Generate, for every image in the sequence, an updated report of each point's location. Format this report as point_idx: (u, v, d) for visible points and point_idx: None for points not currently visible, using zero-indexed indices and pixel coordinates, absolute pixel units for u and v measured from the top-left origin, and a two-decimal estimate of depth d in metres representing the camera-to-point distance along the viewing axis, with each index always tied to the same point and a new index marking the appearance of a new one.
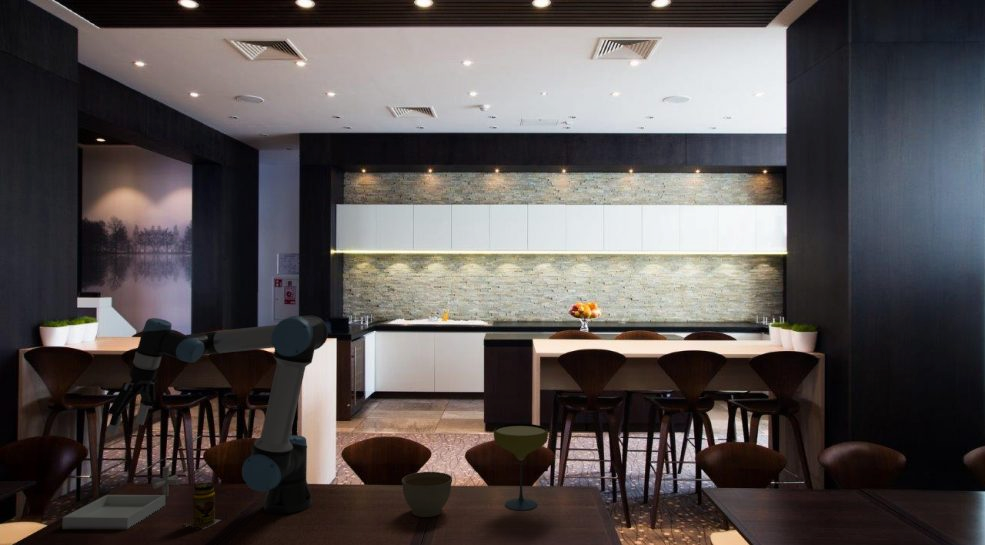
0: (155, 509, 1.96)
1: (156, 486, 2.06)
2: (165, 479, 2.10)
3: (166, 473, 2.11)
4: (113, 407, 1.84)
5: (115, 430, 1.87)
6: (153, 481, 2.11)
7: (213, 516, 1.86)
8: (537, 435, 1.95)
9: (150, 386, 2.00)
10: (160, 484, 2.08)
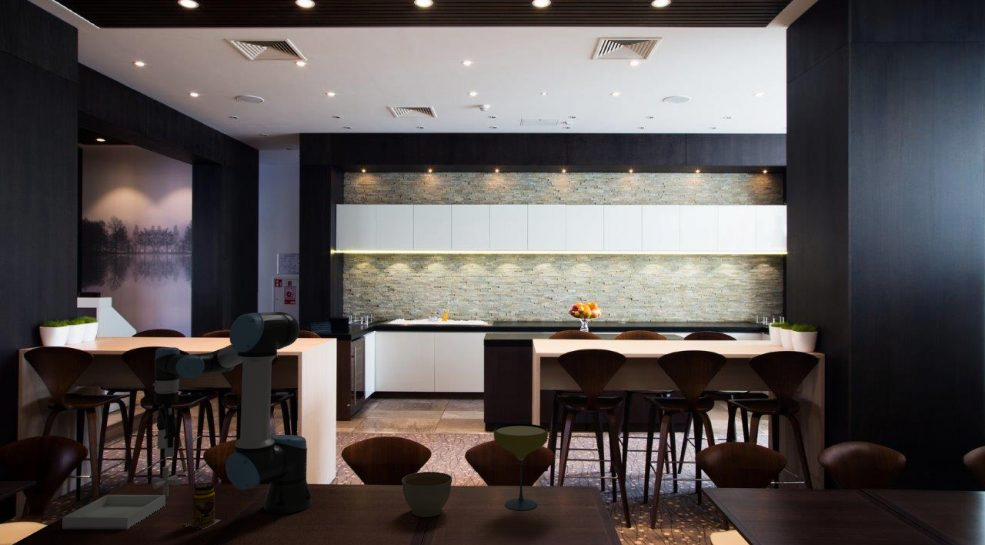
0: (155, 509, 1.96)
1: (156, 486, 2.06)
2: (165, 479, 2.10)
3: (166, 473, 2.11)
4: (170, 431, 2.04)
5: (173, 451, 2.07)
6: (153, 481, 2.11)
7: (213, 516, 1.86)
8: (537, 435, 1.95)
9: None
10: (160, 484, 2.08)
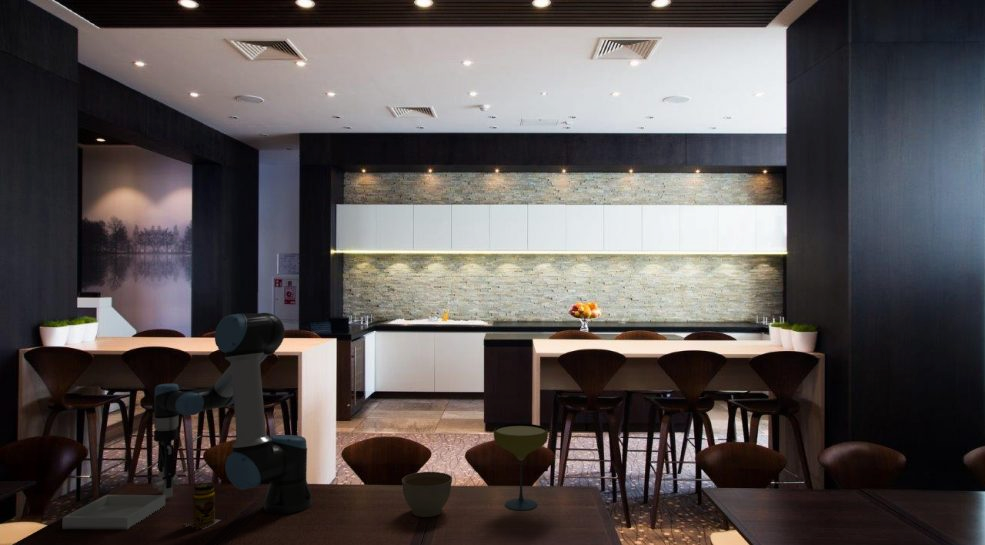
0: (155, 509, 1.96)
1: (156, 486, 2.06)
2: None
3: None
4: (169, 472, 2.05)
5: (172, 491, 2.08)
6: (153, 481, 2.11)
7: (213, 516, 1.86)
8: (537, 435, 1.95)
9: None
10: (160, 484, 2.08)
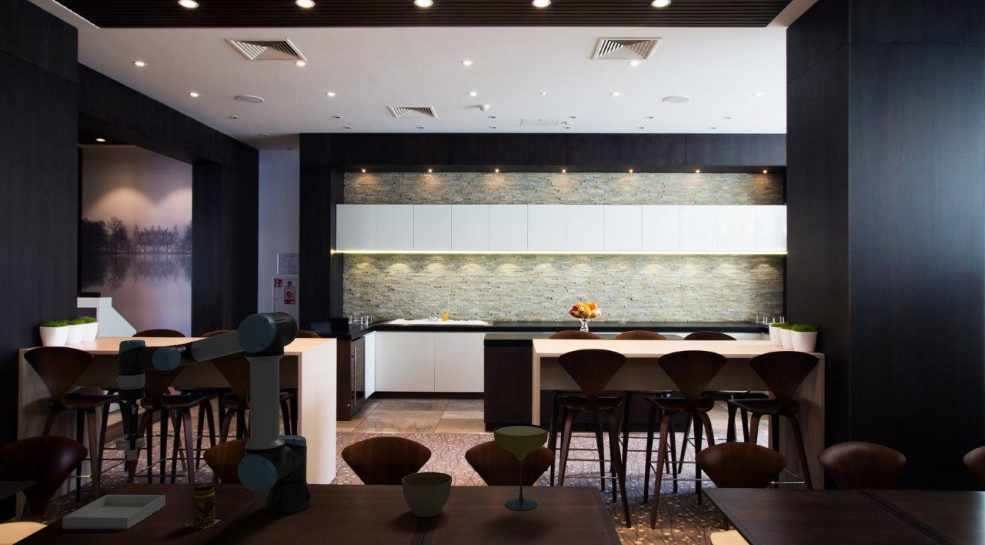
0: (155, 509, 1.96)
1: (119, 448, 1.93)
2: None
3: None
4: (132, 432, 1.91)
5: (136, 454, 1.94)
6: (117, 443, 1.98)
7: (213, 516, 1.86)
8: (537, 435, 1.95)
9: None
10: (124, 446, 1.94)
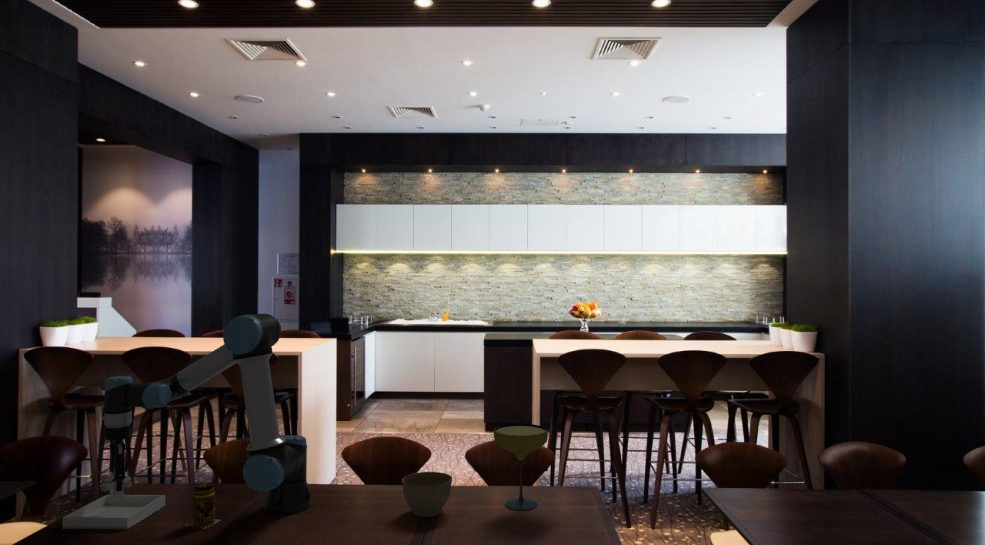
0: (155, 509, 1.96)
1: (105, 489, 1.87)
2: None
3: None
4: (119, 473, 1.86)
5: (122, 495, 1.89)
6: (103, 483, 1.92)
7: (213, 516, 1.86)
8: (537, 435, 1.95)
9: None
10: (110, 486, 1.89)
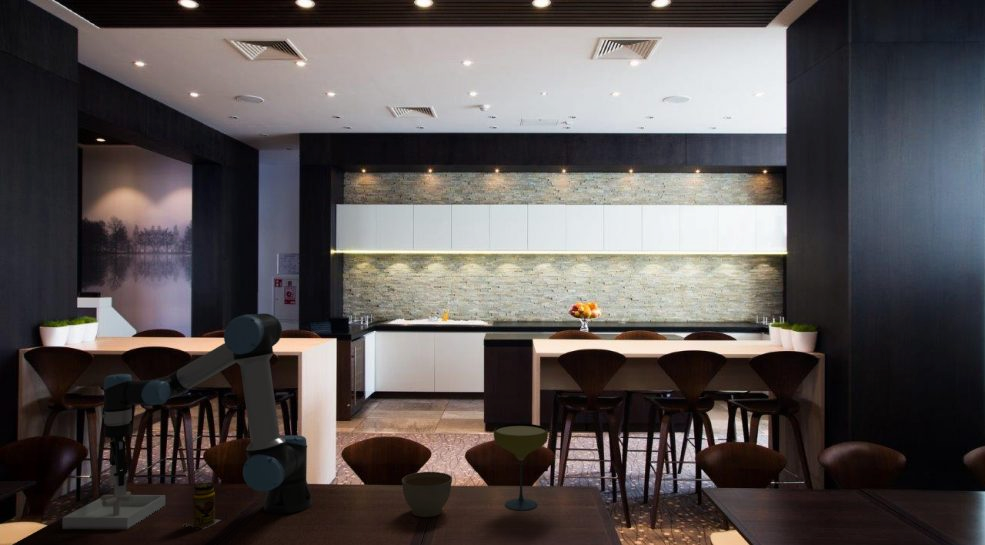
0: (155, 509, 1.96)
1: (106, 503, 1.87)
2: None
3: None
4: (120, 467, 1.85)
5: (125, 489, 1.87)
6: (103, 498, 1.92)
7: (213, 516, 1.86)
8: (537, 435, 1.95)
9: None
10: (110, 501, 1.89)
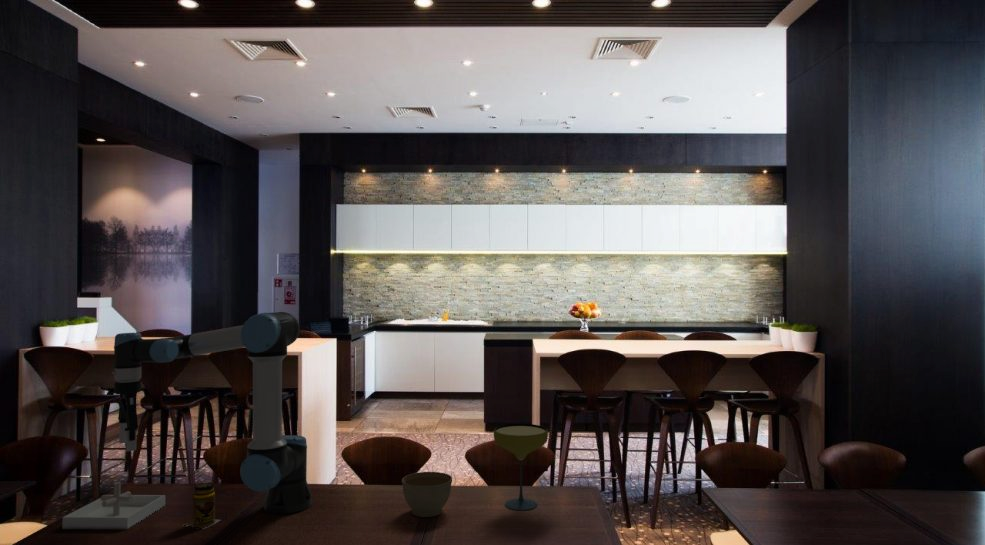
0: (155, 509, 1.96)
1: (106, 504, 1.87)
2: (116, 496, 1.91)
3: (117, 489, 1.92)
4: (132, 422, 1.88)
5: (135, 444, 1.90)
6: (103, 498, 1.92)
7: (213, 516, 1.86)
8: (537, 435, 1.95)
9: None
10: (110, 501, 1.89)
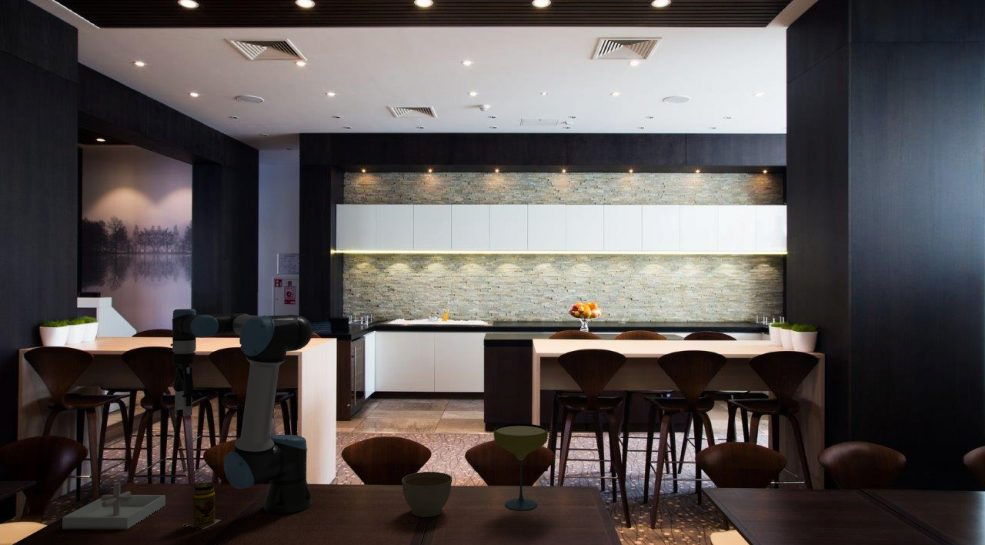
0: (155, 509, 1.96)
1: (106, 504, 1.87)
2: (116, 496, 1.91)
3: (117, 490, 1.92)
4: (188, 389, 2.06)
5: (191, 410, 2.09)
6: (103, 498, 1.92)
7: (213, 516, 1.86)
8: (537, 435, 1.95)
9: None
10: (110, 502, 1.89)
